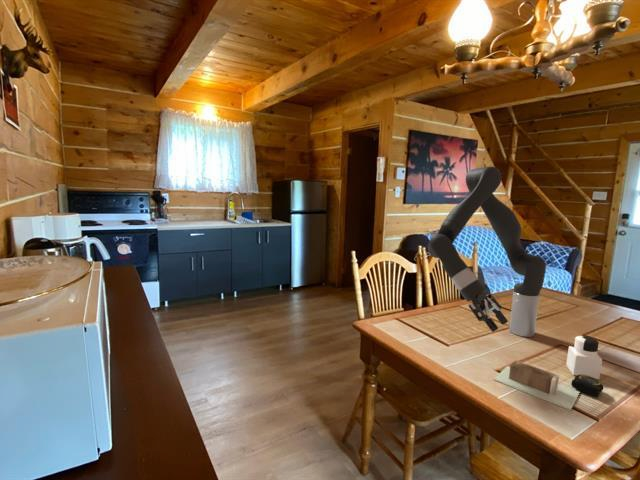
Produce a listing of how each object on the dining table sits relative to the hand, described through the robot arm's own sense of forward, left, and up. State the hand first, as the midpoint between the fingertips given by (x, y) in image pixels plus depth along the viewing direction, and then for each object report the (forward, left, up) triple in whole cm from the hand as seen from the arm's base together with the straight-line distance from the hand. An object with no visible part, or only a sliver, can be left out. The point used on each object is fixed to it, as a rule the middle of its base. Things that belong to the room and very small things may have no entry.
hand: (500, 326), depth 112 cm
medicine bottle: (-21, +20, -16) cm, 33 cm away
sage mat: (0, +12, -16) cm, 19 cm away
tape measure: (-8, +23, -16) cm, 29 cm away
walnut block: (0, +5, -13) cm, 14 cm away
